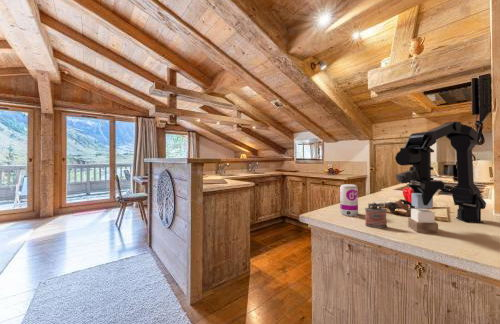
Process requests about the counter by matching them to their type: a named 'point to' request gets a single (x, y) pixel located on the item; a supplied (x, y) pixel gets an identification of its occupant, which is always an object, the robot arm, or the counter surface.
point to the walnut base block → (423, 226)
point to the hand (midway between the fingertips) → (421, 203)
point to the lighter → (376, 215)
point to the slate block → (420, 201)
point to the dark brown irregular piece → (395, 204)
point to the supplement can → (348, 200)
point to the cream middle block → (423, 215)
